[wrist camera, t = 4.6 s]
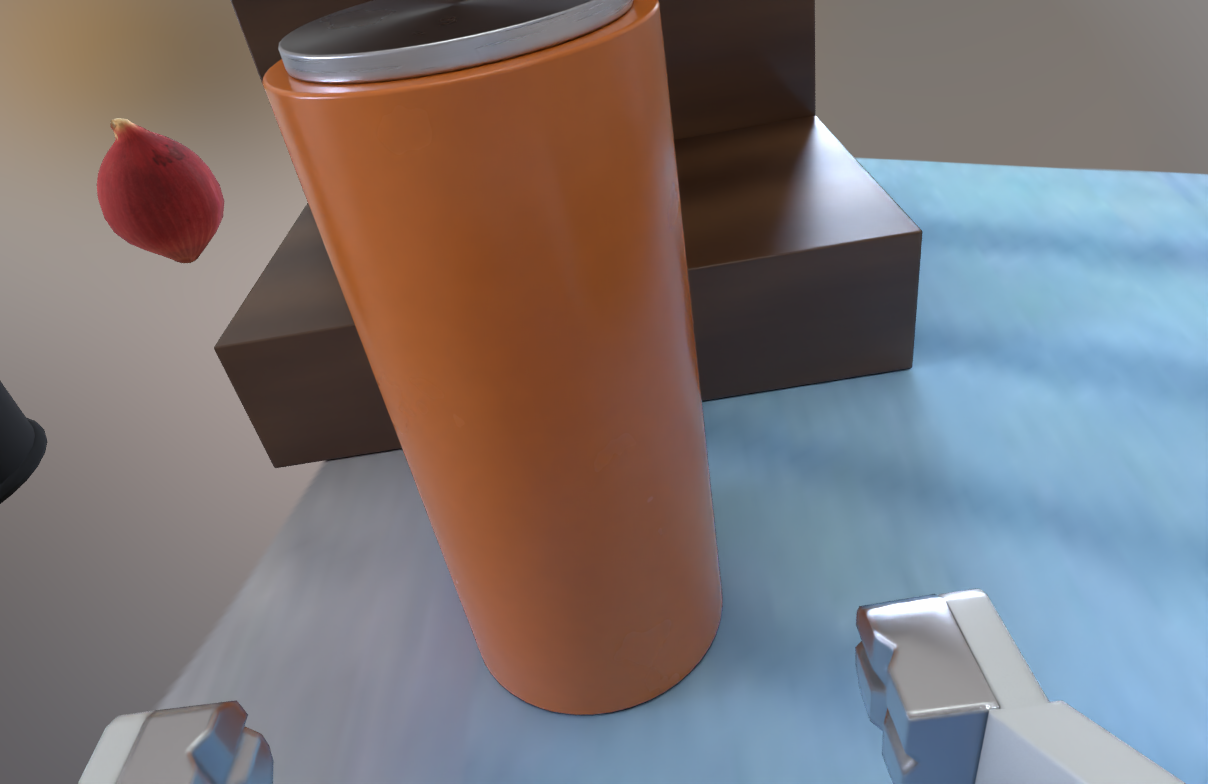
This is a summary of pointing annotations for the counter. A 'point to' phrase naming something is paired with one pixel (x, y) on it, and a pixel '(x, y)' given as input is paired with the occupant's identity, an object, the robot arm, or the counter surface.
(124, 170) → the onion
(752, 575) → the counter surface
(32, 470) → the aerosol can
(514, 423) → the can
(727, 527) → the counter surface
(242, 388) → the shelf
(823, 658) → the counter surface
